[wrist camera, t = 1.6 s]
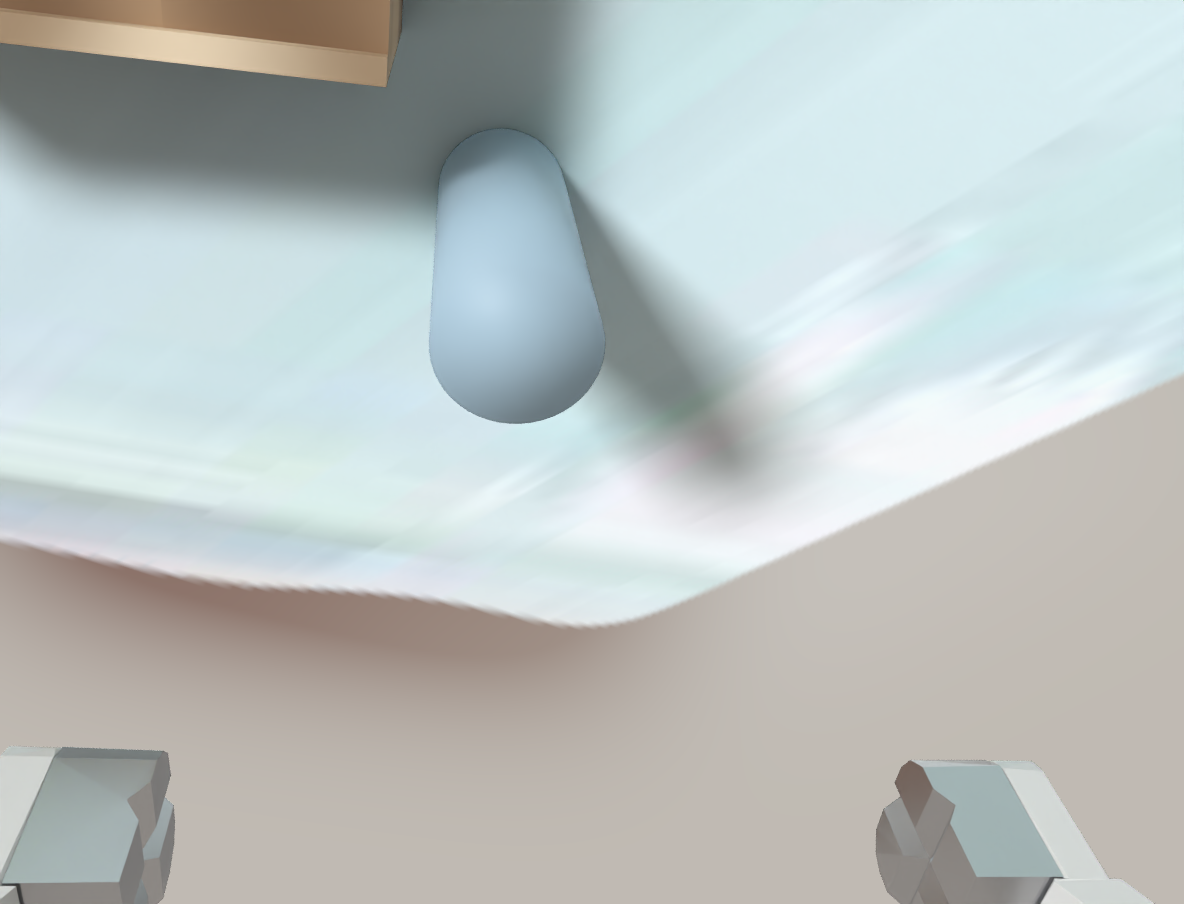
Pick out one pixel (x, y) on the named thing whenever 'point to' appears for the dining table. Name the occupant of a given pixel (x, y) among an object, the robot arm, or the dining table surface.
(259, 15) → the socket block
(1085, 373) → the dining table surface
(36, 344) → the dining table surface
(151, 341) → the dining table surface
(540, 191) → the dowel
